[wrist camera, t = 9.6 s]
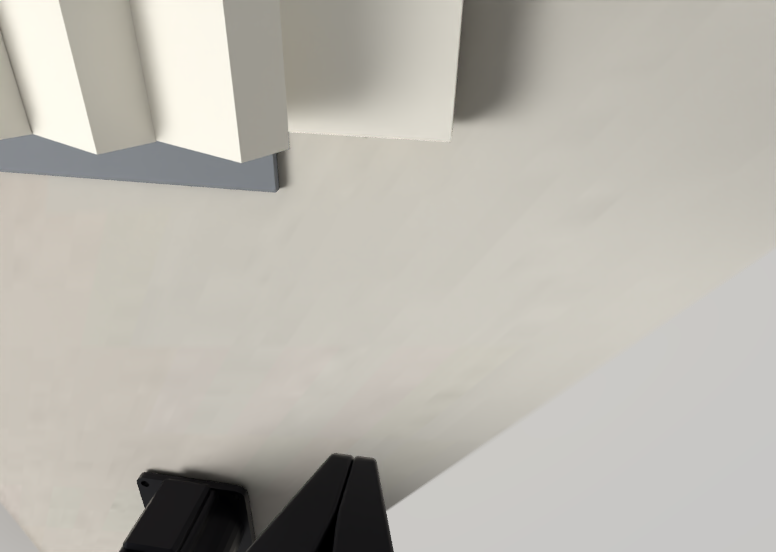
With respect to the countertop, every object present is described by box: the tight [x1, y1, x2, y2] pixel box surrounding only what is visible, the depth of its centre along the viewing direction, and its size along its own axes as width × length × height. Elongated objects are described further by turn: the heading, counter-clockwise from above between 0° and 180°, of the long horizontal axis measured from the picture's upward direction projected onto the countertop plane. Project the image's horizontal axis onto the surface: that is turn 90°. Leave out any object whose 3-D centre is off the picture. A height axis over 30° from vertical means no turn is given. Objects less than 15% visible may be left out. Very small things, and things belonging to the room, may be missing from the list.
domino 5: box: [279, 0, 464, 142], centre depth 16 cm, size 4×2×9 cm
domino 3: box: [0, 0, 156, 155], centre depth 16 cm, size 4×2×9 cm
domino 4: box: [129, 0, 290, 163], centre depth 15 cm, size 4×2×9 cm
